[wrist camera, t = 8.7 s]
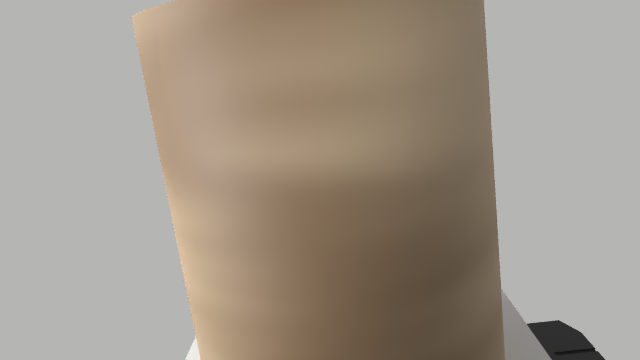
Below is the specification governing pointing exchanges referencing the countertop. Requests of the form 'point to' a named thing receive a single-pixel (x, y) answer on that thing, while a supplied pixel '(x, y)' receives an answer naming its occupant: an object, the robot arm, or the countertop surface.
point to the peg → (329, 175)
